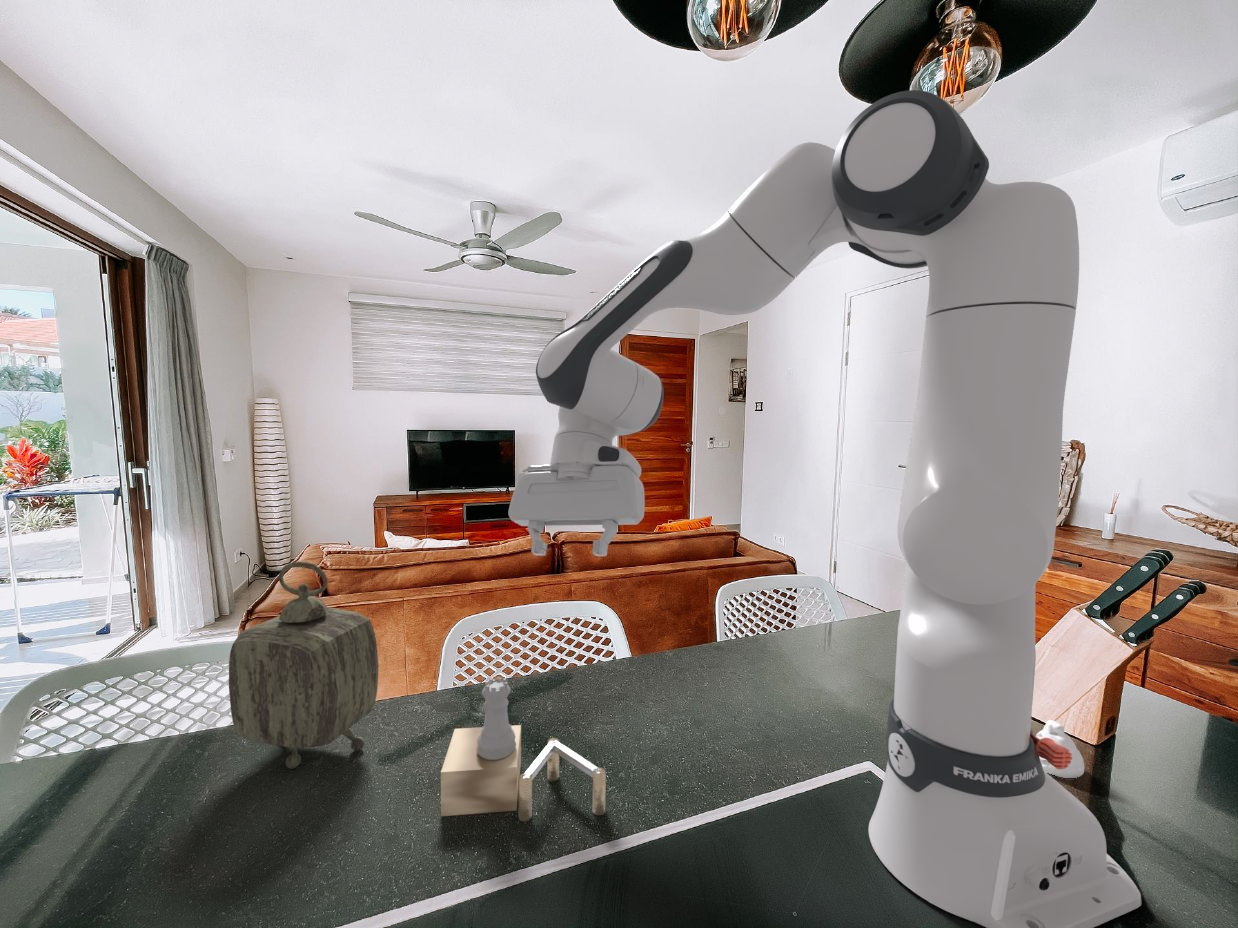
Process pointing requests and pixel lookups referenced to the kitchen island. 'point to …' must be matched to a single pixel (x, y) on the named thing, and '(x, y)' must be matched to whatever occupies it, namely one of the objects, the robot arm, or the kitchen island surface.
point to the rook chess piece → (496, 723)
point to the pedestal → (478, 777)
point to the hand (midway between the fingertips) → (568, 554)
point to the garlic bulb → (1060, 738)
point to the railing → (552, 759)
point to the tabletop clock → (303, 673)
